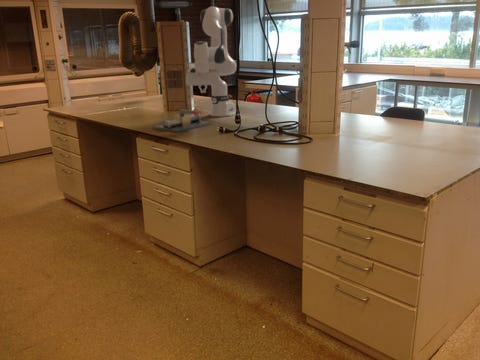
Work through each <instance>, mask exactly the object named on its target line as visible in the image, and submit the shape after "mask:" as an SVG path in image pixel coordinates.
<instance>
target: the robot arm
mask: <svg viewBox="0 0 480 360" xmlns="http://www.w3.org/2000/svg"><path fill="white" fill-rule="evenodd" d="M233 13H234V12H233V11H232V9H230V8H228V7H227V8H223V7H222V8H221V7H217V6H209V7H208V8H204V9H202V10H201V11H200V15H199V17H200V19H199V20H200V22H201V24H202V31H203V32H204V34H206V35H207V36H209V37H210V46H209V45H208V41H205V40H202V41H201V40H200V41H196V42H194V44H193V45H194V46H193V47H194V48H193V58H194V66H193V67H190V68H187V71H186V72H187V74H186V77H185V84H186V86H187V87H189V86H190V87H193V86H198V89H199V90H200V94H206V93H207V91H206V90H207V89H208V86H211V97H210V98H211V99H210V100H211V103H210V104H211V106H210V113H209V114H210V116H211V117H231V116H234V115H237V114H236V111H237V107H236V105H235V103H233V102H232V101H231V100H230V99H231V98H232V95H231V94H228V84H227V82H226V81H224V80H223V79H222V78H221V77H220V76H229V75H233V74H235V73H236V71H237V67H238V66H237V63H236V61H235V60H234V59H233V58H232V57H231V55H230V53H229V52H228V31H227V28H228V27H229V26H230V25H231V24H232V23H233V20H234V14H233ZM202 86H204V88H203V89H202Z"/></svg>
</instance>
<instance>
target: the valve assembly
mask: <svg viewBox="0 0 480 360" xmlns="http://www.w3.org/2000/svg"><path fill="white" fill-rule="evenodd" d="M173 118H174V119H170V120H168V119H164V120H163V121H162V124H158V125H157V124H156V125H154V126H152V130H158V131H165V132H173V133H182V132H185V131H191V130H194V129H198V128H202V127H205V126H206V127H207V126H210V125H213V123H212V121H208V120H207V121H206V120H202V116H201V114H200V115H195V114H192V115H190V114H185V115H179V114H177V115H176V114H175V115H173Z"/></svg>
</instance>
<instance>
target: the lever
mask: <svg viewBox="0 0 480 360" xmlns="http://www.w3.org/2000/svg"><path fill="white" fill-rule="evenodd" d="M186 114H187V115H190V114H191V115H194V114H195V115H200V116H201V115H202V111H201V110H197V109H196V110H193V109H183V108H181V109H179V112H178V115H186Z"/></svg>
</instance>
